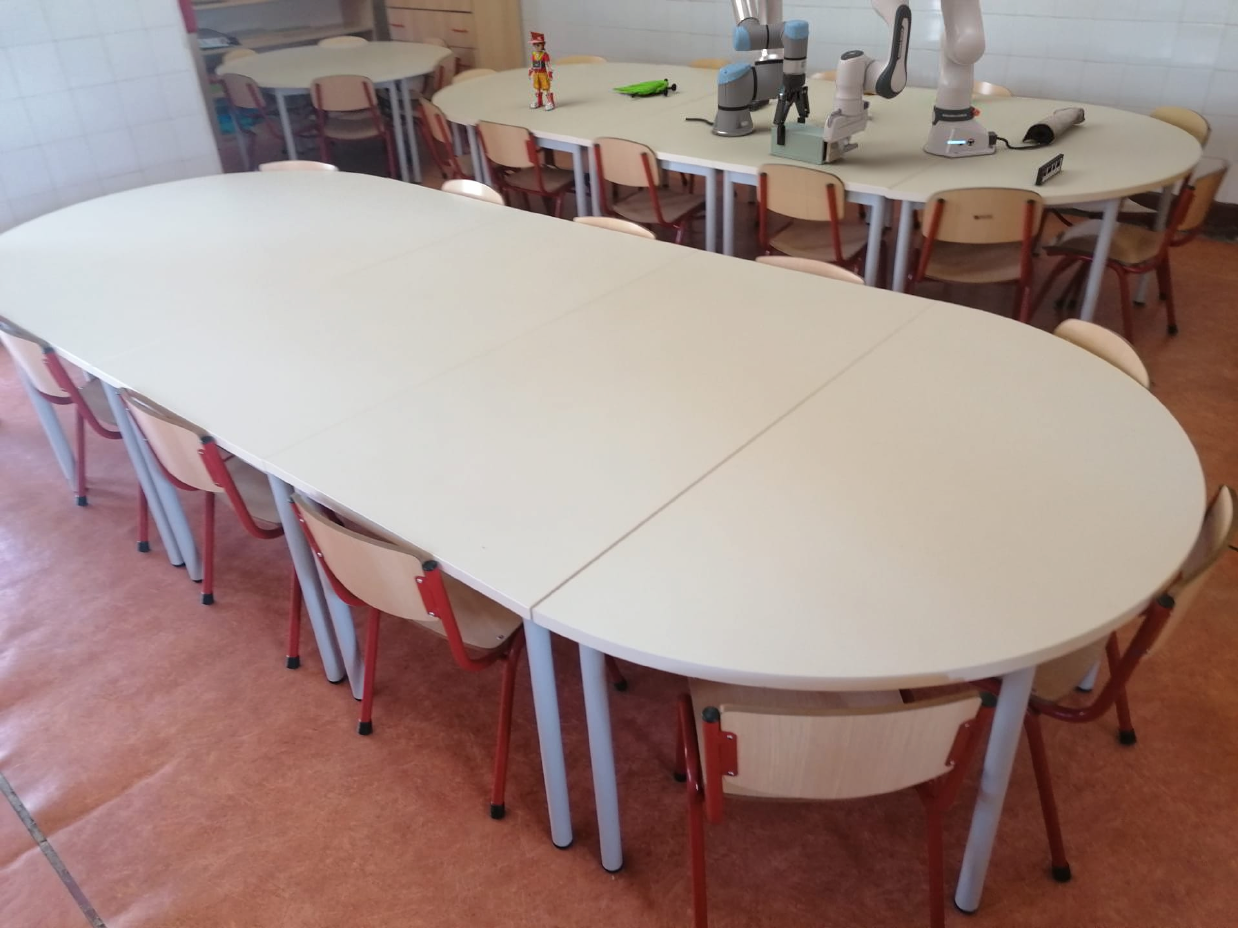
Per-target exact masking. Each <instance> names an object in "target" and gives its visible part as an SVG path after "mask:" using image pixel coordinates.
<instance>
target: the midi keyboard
mask: <svg viewBox="0 0 1238 928" xmlns="http://www.w3.org/2000/svg"><path fill="white" fill-rule="evenodd" d="M1064 157H1065V153H1059V154H1058V155H1056V156H1055V157H1052V159H1051V160H1049V161H1047V162H1045V164H1042V165H1041V166H1039V167H1038V169H1037V175H1036V179H1035V186H1040V185H1042V183H1044V182H1045V181H1047V180H1048V179H1049V178H1051V177H1052V176H1054V175H1055V174H1056V173H1058V172H1060V171H1061V170H1062V165H1063V161H1064Z"/></svg>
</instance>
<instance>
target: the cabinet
mask: <svg viewBox="0 0 1238 928" xmlns="http://www.w3.org/2000/svg"><path fill="white" fill-rule="evenodd" d="M784 125H786V129H785V145H784V146H782V145H777V125H775V126H773V127H771V137H770V155H772V156H777V157H782V158H786V159H792V160H796V161H801V162H807V163H812V164H817V165H824V164H826V163H827V162H826V159H823V151H824V139H823V134H824V128H825V126H820V125H815V124H809V123H805V124H804V123H798V122H797V121H792V120H790V121H785V123H784Z"/></svg>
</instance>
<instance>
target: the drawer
mask: <svg viewBox="0 0 1238 928" xmlns="http://www.w3.org/2000/svg"><path fill="white" fill-rule="evenodd" d="M858 148H859V144H858V142H854V143H849V144H848V146H847V147H845V148H842V149H840V148H839V145H838V142H837V141H836V142H833V143H830V142H825V141H824V151H823V159H826V162H825V163H831V162H833V161H835V160H838V159H840V158H843V157H844V156H845V154H846V153H848V152H851V151H854V150H855V149H858Z"/></svg>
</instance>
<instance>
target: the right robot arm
mask: <svg viewBox="0 0 1238 928" xmlns="http://www.w3.org/2000/svg"><path fill="white" fill-rule="evenodd" d="M870 3H871V6H872V9H873V11H875V13H876V14H877V15H878V16H879V17H880V18H881V19H882V20H883V21H884V22H885V23H886V25H887V27H888V29H889V43H888V50H887V51H888V52H887V59H886V61H883V60H881V59H876V58H873V57H870V56H868V55H867V54H866V53H865V52H864V51H863V50H859V49H854V50H848V51H846V52H844V53H843V54H841V55H840V57H839V59H838V63H837V67H836V72H835V92H834V94H833V103H832V104H833V106H832V111H831V112H830V113H829V115H828V116H827V118H826V120H825V123H824V127H825V128H824V134H823V139H824V141H825V142H830V143H833V142H836V141H837V142H838V145H839V148H840V149H842V148H845V147H847V146H848V144H850V142H851V140H852V136H853V135H855V134H858V133H861V132H863V131H865V129H866V128H867V123H868V119H869V118H868V114H869V108H870V104H871V102H870V101H869V100H864V99H863V94H864V93H863V92H864V91H867V92H869V93H872V94H873V95H877V96H878V97H881V98H883V99H886V100H892V99H895V98H896V97H897V96H898V95H900V94H901V93H902V92H903V91H904V89H905V87H906V85H907V81H908V66H907V65H908V57H909V56H908V55H909V48H910V47H909V46H910V39H911V38H910V37H911V31H912V19H913V15H912V10H911V8H910V0H871V1H870ZM940 9H941V14H942V19H943V25H944V28H943V30H942V32H941V35H940V45H939V47H940V48H939V61H938V83H937V90H936V97H935V104H934V105H933V109H932V111H931V125H930V131H929V134H928V137H927V140H926V143H925V145H924V147H923V150H924V151H925V152H927V153H929V154H933V155H937V156H944V157H947V158H961V157H971V156H981V155H982V156H983V155H991V154H994V153H995V150H996V148H995V146H996V145H997V142H998V141H1002V142H1004V143H1005V147H1006V148H1007V149H1009V150H1017V151H1018V150H1022V151H1023V150H1032V149H1037V148H1040V147H1041V148H1042V147H1045V146H1047V145H1046V143H1042V144H1038V143H1037V144H1034V145H1024V146H1023V145H1022V146H1012V145H1011V144H1010V142H1009V140H1008V139H1007V138H1005V137H1000V136H998V134H997V133H996V132H995V131H991V130H990V131H988V129H987V128H986V127H985V126H984V125H983V124H982V123H980V121H978V120H977V118H975V117H978V116H979V115H981V110H980V109H978V108H976V107H974V106H973V105H972V98H973V93H974V92H973V91H974V87H975V63H977V62H978V61H979V60H980V59H981V58H982V57H983V55H984V53H985V50H986V38H985V29H984V22H983V16H982V10H981V3H980V0H940Z"/></svg>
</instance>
